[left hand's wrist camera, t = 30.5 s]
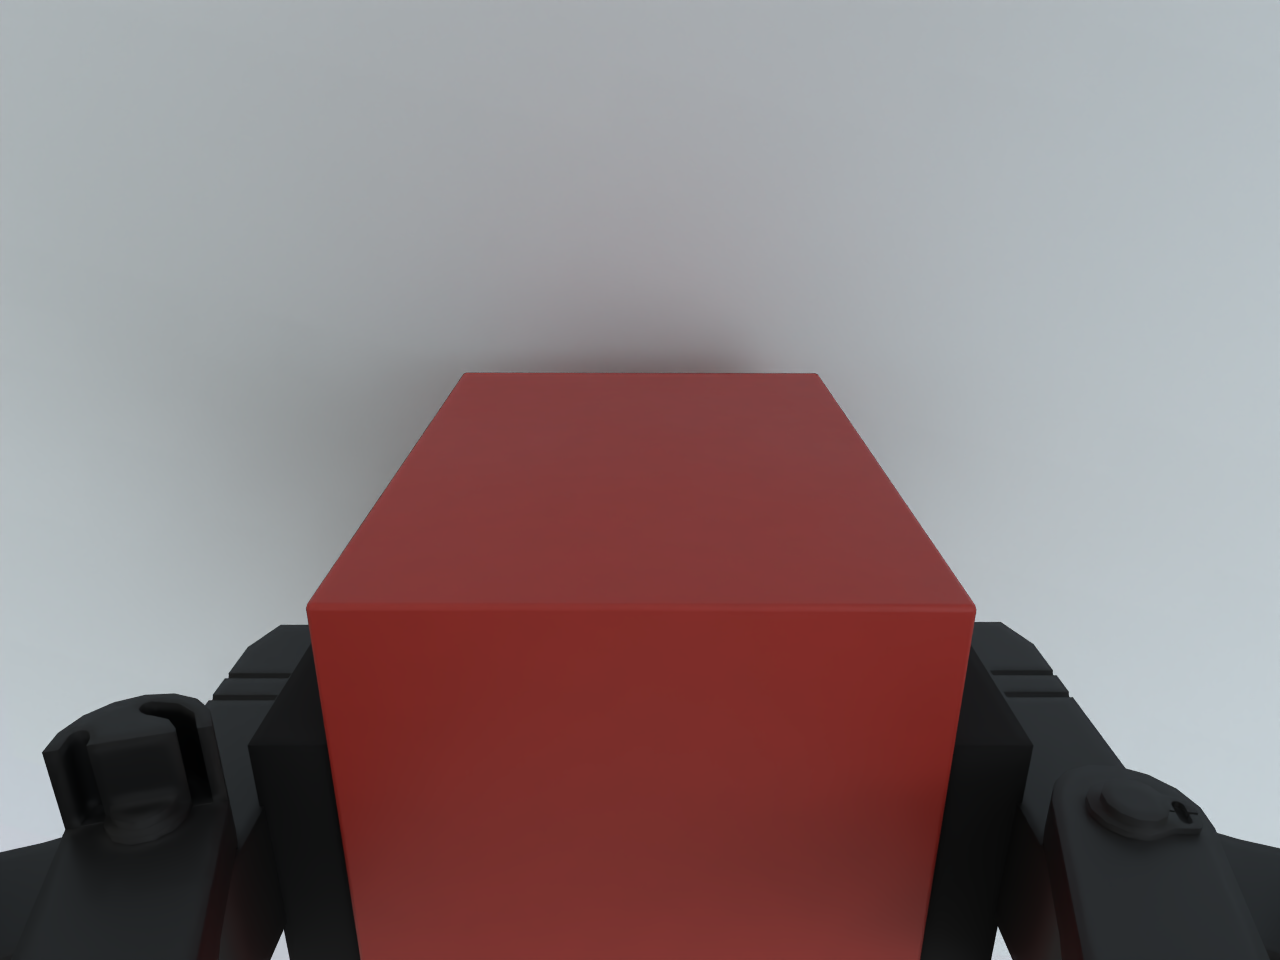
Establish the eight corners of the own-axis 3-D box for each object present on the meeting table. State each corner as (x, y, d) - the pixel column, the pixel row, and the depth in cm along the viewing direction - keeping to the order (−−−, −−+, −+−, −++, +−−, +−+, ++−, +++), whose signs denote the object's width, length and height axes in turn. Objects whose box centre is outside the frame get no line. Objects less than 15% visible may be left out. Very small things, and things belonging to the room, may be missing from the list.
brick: (486, 684, 16) (377, 1084, 9) (463, 371, 14) (302, 606, 7) (794, 685, 16) (902, 1085, 9) (818, 372, 14) (979, 607, 7)
